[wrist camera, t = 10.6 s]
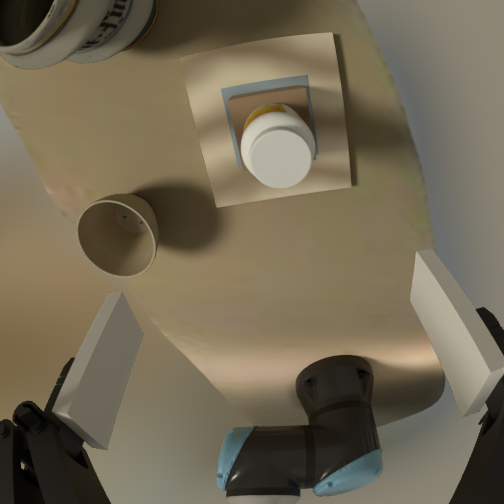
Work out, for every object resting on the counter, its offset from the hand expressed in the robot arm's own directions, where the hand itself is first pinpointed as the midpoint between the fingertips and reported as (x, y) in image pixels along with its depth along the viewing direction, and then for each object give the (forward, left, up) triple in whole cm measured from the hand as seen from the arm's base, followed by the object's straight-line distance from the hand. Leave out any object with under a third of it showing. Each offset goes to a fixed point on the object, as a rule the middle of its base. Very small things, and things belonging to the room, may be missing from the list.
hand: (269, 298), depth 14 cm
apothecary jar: (+20, +13, -25) cm, 35 cm away
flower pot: (-5, +18, -25) cm, 31 cm away
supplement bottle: (+3, -2, -19) cm, 19 cm away
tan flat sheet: (+3, -1, -25) cm, 25 cm away
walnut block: (+3, -1, -24) cm, 24 cm away
